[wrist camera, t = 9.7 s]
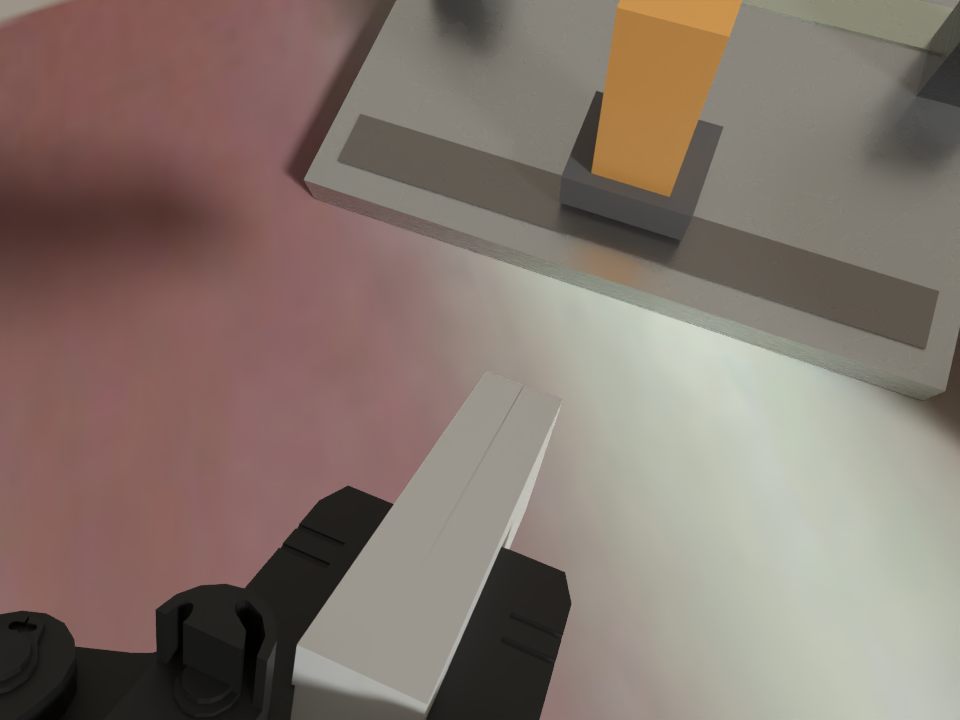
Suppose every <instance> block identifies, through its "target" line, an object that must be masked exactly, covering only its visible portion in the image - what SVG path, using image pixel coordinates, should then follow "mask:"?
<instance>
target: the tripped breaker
mask: <svg viewBox="0 0 960 720" xmlns="http://www.w3.org/2000/svg"><path fill="white" fill-rule="evenodd" d="M741 3H742V0H620V1H619V4H618V6H617V10H616V17H615V23H614V29H613V36H612V42H611V49H610V55H609V62H608V68H607V75H606V81H605V88H604V93H603V92H599V91H596V92H595V95H594V97H593V100H592V102H591V105H590V107H589V110H588V112H587V115H586V117H585V119H584V122H583V124H582V127H581V129H580V132H579V134H578V137H577V139H576V142H575V144H574V146H573V149H572V151H571V154H570V156H569V159H568V161H567V164H566V166H565V169H564V171H563V173H562V176H561V185H560V198H559V203H563V204H566V205H569V206H572V207H575V208H579V209H582V210H585V211H588V212H591V213H594V214H598V215H601V216H604V217H607V218H610V219H614V220H617V221H620V222H623V223H626V224H630V225H633V226H636V227H639V228H642V229H645V230H649V231H652V232H655V233H658V234H661V235H665V236H668V237H671V238H674V239H677V240H681V241H682V239H683V237H684V234H685V232H686V230H687V228H688V226H689V223H690V221H691V219H692V217H693V214H694V211H695V208H696V205H697V202H698V199H699V197H700V194H701V191H702V188H703V185H704V182H705V179H706V176H707V173H708V171H709V168H710V165H711V162H712V159H713V156H714V153H715V150H716V147H717V145H718V142H719V139H720V136H721V133H722V130H723V126H720V125H716V124H713V123H709V122H705V121H702V120H699V117H700V114H701V112H702V109H703V106H704V104H705V101H706V98H707V96H708V93H709V90H710V88H711V85H712V82H713V79H714V77H715V74H716V71H717V69H718V66H719V63H720V61H721V58H722V55H723V53H724V50H725V47H726V45H727V42H728V39H729V37H730V34H731V31H732V28H733V25H734V23H735V20H736V17H737V14H738V11H739V9H740V6H741Z"/></svg>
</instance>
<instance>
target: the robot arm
mask: <svg viewBox="0 0 960 720" xmlns="http://www.w3.org/2000/svg"><path fill="white" fill-rule="evenodd" d="M562 401H563V399H562V398H559V397H557V396H554V395H551V394H549V393H546V392H543V391H540V390H538V389H535V388H532V387H529V386H527V385H524V384H521V383H518V382H516V381H513V380H510V379H508V378H505V377H502V376H499V375H497V374H494V373H491V372H488V371H486V372H485V373H484V375H483V376H482V378H481V379H480V380H479V382H478V383H477V385H476V386H475V388H474V389H473V391H472V392H471V393H470V395H469V396H468V398H467V399H466V401H465V402H464V404H463V405H462V406H461V408H460V409H459V411H458V412H457V414H456V415H455V417H454V418H453V420H452V421H451V422H450V424H449V425H448V427H447V428H446V430H445V431H444V433H443V434H442V435H441V437H440V438H439V440H438V441H437V443H436V444H435V446H434V447H433V448H432V450H431V451H430V453H429V454H428V456H427V457H426V459H425V460H424V461H423V463H422V464H421V466H420V467H419V469H418V470H417V472H416V473H415V474H414V476H413V477H412V479H411V480H410V482H409V483H408V485H407V486H406V488H405V489H404V490H403V492H402V493H401V495H400V496H399V498H398V499H397V501H396V502H395V503H394V504H392V503H389V502H387V501H384V500H382V499H379V498H377V497H375V496H372V495H370V494H367V493H365V492H362V491H360V490H358V489H355V488H353V487H350V486H346V487H345V488H343V489H341V490H339V491H337V492H335V493H333V494H331V495H329V496H327V497H325V498H323V499H321V500H319V501H318V503H317V504H316V505H315V506H314V507H313V509H312V510H311V511H310V512H309V513H308V514H307V516H306V517H305V518H304V519H303V520H302V522H301V523H300V524H299V527H298V528H297V529H295V530H294V531H293V532H292V533H291V534H290V536H289V537H288V538H287V539H286V540H285V542H284V543H283V545H282V547H281V549H280V548H279V549H278V550H277V551H276V552H275V553H274V555H273V556H272V557H271V558H270V559H269V560H268V562H267V563H266V564H265V565H264V566H263V567H262V569H261V570H260V571H259V572H258V573H257V575H256V576H255V577H254V578H253V579H252V580H251V582H250V583H249V584H248V585H247V586H246V588H245V589H244V588H240V587H236V586H232V585H228V584H218V585H201V586H198V587H195V588H193V589H190V590H187V591H184V592H181V593H179V594H176V595H175V596H173V597H172V598H171V599H169V600H168V601H167V602H165V603H164V604H163V605H161V606H160V607H159V608H157V609H156V642H157V652H154V653H128V652H119V651H110V650H101V649H92V648H83V647H75V643H74V638H73V637H72V635H71V633H70V632H69V630H68V628H67V627H66V625H65V623H63V622H61V621H59V620H57V619H55V618H54V617H52V616H50V615H48V614H46V613H37V612H28V611H18V612H12V613H6V614H0V720H539V719H540V715H541V712H542V708H543V704H544V701H545V697H546V694H547V690H548V686H549V683H550V679H551V675H552V672H553V668H554V663H555V660H556V657H557V654H558V650H559V647H560V643H561V638H562V635H563V632H564V629H565V625H566V621H567V618H568V614H569V610H570V607H571V599H570V594H569V590H568V585H567V580H566V575H565V572H563V571H560V570H558V569H555V568H553V567H551V566H548V565H546V564H543V563H541V562H538V561H536V560H534V559H531V558H529V557H526V556H524V555H521V554H519V553H516V552H514V551H512V550H509V548H510V546H511V544H512V541H513V539H514V537H515V534H516V532H517V529H518V527H519V525H520V522H521V520H522V517H523V515H524V513H525V510H526V508H527V505H528V502H529V499H530V496H531V493H532V490H533V487H534V484H535V481H536V478H537V475H538V472H539V469H540V466H541V463H542V460H543V457H544V454H545V451H546V448H547V445H548V442H549V439H550V436H551V433H552V430H553V427H554V424H555V421H556V418H557V415H558V412H559V409H560V406H561V403H562Z"/></svg>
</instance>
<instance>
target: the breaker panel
mask: <svg viewBox="0 0 960 720" xmlns="http://www.w3.org/2000/svg"><path fill="white" fill-rule="evenodd" d="M619 1H620V0H396V2H395V4H394V6H393V8H392V9H391V11H390V13H389V15H388V17H387V19H386V21H385V23H384V25H383V27H382V29H381V31H380V33H379V35H378V37H377V39H376V40H375V42H374V44H373V46H372V48H371V50H370V52H369V54H368V56H367V58H366V60H365V62H364V64H363V66H362V68H361V70H360V71H359V73H358V75H357V77H356V79H355V81H354V83H353V85H352V87H351V89H350V91H349V93H348V95H347V97H346V99H345V101H344V102H343V104H342V106H341V108H340V110H339V112H338V114H337V116H336V118H335V120H334V122H333V124H332V126H331V128H330V130H329V131H328V133H327V135H326V137H325V139H324V141H323V143H322V145H321V147H320V149H319V151H318V153H317V155H316V157H315V159H314V161H313V162H312V164H311V166H310V168H309V170H308V172H307V174H306V176H305V178H304V182H305V183H306V185H307V187H308V189H309V190H310V192H311V194H312V196H313V197H314V198H315V199H318V200H321V201H324V202H327V203H330V204H333V205H336V206H339V207H342V208H345V209H348V210H351V211H354V212H357V213H360V214H363V215H366V216H369V217H372V218H375V219H378V220H381V221H384V222H387V223H390V224H393V225H396V226H399V227H402V228H405V229H408V230H411V231H414V232H417V233H420V234H423V235H426V236H429V237H432V238H435V239H438V240H441V241H444V242H447V243H450V244H453V245H456V246H459V247H462V248H465V249H468V250H471V251H474V252H477V253H480V254H483V255H486V256H489V257H492V258H495V259H498V260H501V261H504V262H507V263H510V264H513V265H516V266H519V267H522V268H525V269H528V270H531V271H534V272H537V273H540V274H543V275H546V276H549V277H552V278H555V279H558V280H561V281H564V282H567V283H570V284H573V285H576V286H579V287H582V288H585V289H588V290H591V291H594V292H597V293H600V294H603V295H606V296H609V297H612V298H616V299H619V300H622V301H625V302H628V303H631V304H634V305H637V306H640V307H643V308H646V309H649V310H652V311H655V312H658V313H661V314H664V315H667V316H670V317H673V318H676V319H679V320H682V321H685V322H688V323H691V324H694V325H697V326H700V327H703V328H706V329H709V330H712V331H715V332H718V333H721V334H724V335H727V336H730V337H733V338H736V339H739V340H742V341H745V342H748V343H751V344H754V345H757V346H760V347H763V348H766V349H769V350H772V351H775V352H778V353H781V354H784V355H787V356H790V357H793V358H796V359H799V360H802V361H805V362H808V363H811V364H814V365H817V366H820V367H823V368H826V369H829V370H832V371H835V372H838V373H841V374H844V375H847V376H850V377H853V378H856V379H859V380H862V381H865V382H868V383H871V384H874V385H877V386H880V387H883V388H886V389H889V390H892V391H895V392H898V393H901V394H904V395H907V396H910V397H913V398H916V399H919V400H922V401H924V400H926V399H929V398H931V397H933V396H935V395H938V394H940V393H942V392H944V391H946V387H947V382H948V378H949V373H950V369H951V364H952V360H953V355H954V351H955V346H956V342H957V337H958V333H959V328H960V0H742V3H741V6H740V9H739V11H738V14H737V17H736V20H735V23H734V25H733V28H732V31H731V34H730V37H729V39H728V42H727V45H726V47H725V50H724V53H723V55H722V58H721V61H720V63H719V66H718V69H717V71H716V74H715V77H714V79H713V82H712V85H711V88H710V90H709V93H708V96H707V98H706V101H705V104H704V106H703V109H702V112H701V114H700V117H699V120H702V121H705V122H709V123H713V124H716V125H720V126H723V130H722V133H721V136H720V139H719V142H718V145H717V147H716V150H715V153H714V156H713V159H712V162H711V165H710V168H709V171H708V173H707V176H706V179H705V182H704V185H703V188H702V191H701V194H700V197H699V199H698V202H697V205H696V208H695V211H694V214H693V217H692V219H691V221H690V223H689V226H688V228H687V230H686V232H685V234H684V237H683V239H682V241H681V240H677V239H674V238H671V237H668V236H665V235H661V234H658V233H655V232H652V231H649V230H645V229H642V228H639V227H636V226H633V225H630V224H626V223H623V222H620V221H617V220H614V219H610V218H607V217H604V216H601V215H598V214H594V213H591V212H588V211H585V210H582V209H579V208H575V207H572V206H569V205H566V204H563V203H559V198H560V185H561V176H562V173H563V171H564V169H565V166H566V164H567V161H568V159H569V156H570V154H571V151H572V149H573V146H574V144H575V142H576V139H577V137H578V134H579V132H580V129H581V127H582V124H583V122H584V119H585V117H586V115H587V112H588V110H589V107H590V105H591V102H592V100H593V97H594V95H595V92H596V91H599V92H603V93H604V88H605V81H606V75H607V68H608V62H609V55H610V49H611V42H612V36H613V29H614V23H615V17H616V10H617V6H618V4H619Z"/></svg>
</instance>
